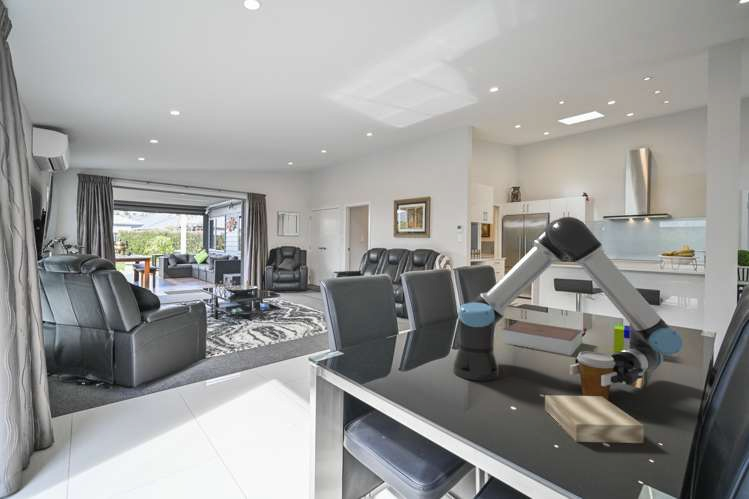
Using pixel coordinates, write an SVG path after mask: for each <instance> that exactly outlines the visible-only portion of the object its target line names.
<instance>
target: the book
mask: <svg viewBox="0 0 749 499" xmlns="http://www.w3.org/2000/svg"><path fill="white" fill-rule="evenodd" d="M502 343H503V344H507V345H510V346H511V345H512V346H516V345H517V347H522V346H523V348H527V347H528V349H532V348H533V349H534V350H537V351H544V352H549V353H553V354H554V353H555V354H560V355H565V356H569V357H570V356H572V355H573V354H574V353H575V351H576V350H577V349H578V348H579V346H581V345H582V344H583V330H582V329H577V328H576V329H575V328H569V327H564V326H556V325H549V324H540V323H534V322H528V321H521V320H518V321H516V322H514V323H513V324H510V325H509V326H507V327H505V328H502Z"/></svg>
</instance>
